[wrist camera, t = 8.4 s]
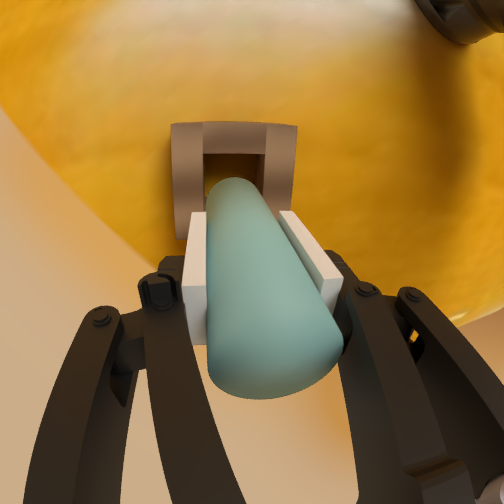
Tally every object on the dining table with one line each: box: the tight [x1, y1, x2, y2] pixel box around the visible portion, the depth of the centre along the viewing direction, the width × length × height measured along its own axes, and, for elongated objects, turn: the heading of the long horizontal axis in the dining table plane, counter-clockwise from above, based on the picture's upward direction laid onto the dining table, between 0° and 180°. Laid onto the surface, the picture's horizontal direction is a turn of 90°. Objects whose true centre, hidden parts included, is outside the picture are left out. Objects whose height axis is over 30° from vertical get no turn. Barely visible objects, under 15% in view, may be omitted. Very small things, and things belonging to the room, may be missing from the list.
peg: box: [206, 177, 343, 399], centre depth 13 cm, size 4×4×14 cm
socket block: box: [171, 122, 297, 240], centre depth 26 cm, size 11×11×5 cm
